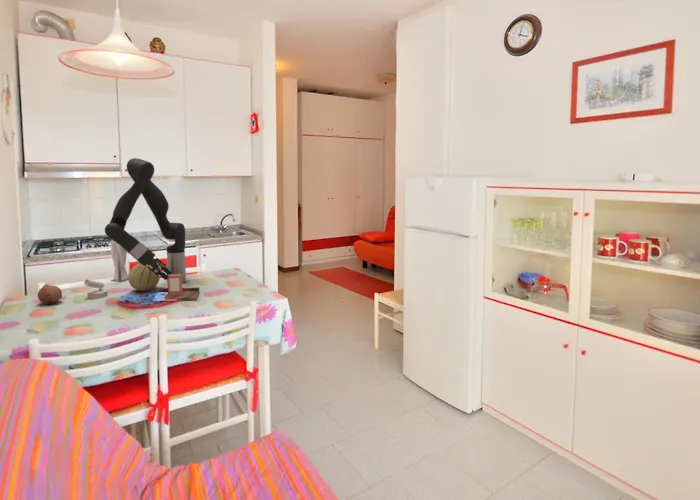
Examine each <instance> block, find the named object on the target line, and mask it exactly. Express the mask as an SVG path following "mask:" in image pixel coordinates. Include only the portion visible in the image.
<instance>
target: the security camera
mask: <svg viewBox="0 0 700 500" xmlns="http://www.w3.org/2000/svg"><path fill="white" fill-rule="evenodd" d="M84 286H86V287H91V288H96V289H91V290H89V291H87V293H86V294H87V298H88V299H91V300H93V299H96V300H97V299H98V300H99V299H103V298H106V297H108V289H106V288H104V287H105V286H104V283H103V282H100V281H96V280H92V279H87V278H86V279H85V280H84Z"/></svg>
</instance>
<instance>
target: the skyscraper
mask: <svg viewBox="0 0 700 500" xmlns="http://www.w3.org/2000/svg"><path fill="white" fill-rule="evenodd" d="M110 244H111V246H110V248H111V249H110V253H111V257H112V262H113V266H114V273H113V274H114V275H113V279H111V280H110V282H116V283H123V282H126V281H129V280H128V275H129V274H128V273H127V270H126V264H127V263H126V262H127V251H126V250H125V249H124V248H123V247H122V246H120V245H119V244H118V243H116V242H115V241H113V240H112V239H111V242H110Z"/></svg>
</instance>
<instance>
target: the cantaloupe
mask: <svg viewBox="0 0 700 500" xmlns="http://www.w3.org/2000/svg"><path fill="white" fill-rule="evenodd" d="M148 266H149V265H148V264H147V265H146V266H143V265H142V264H141V263H140V262H138V263H137V264H135V265H134V266H132V268H130V270H129V272H128V274H127V275H128V280H127V281H128V283H129V285H130V286H131V287H132V288H133V289H135V290H137V291H141V292H147V291H151V290H153V289H155V288H156V287H157V286H158V284H159V281H160V277H161V276H160V275H156V274H154V273H153V272H152V271H151V270H150V269H149V268H148Z"/></svg>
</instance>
